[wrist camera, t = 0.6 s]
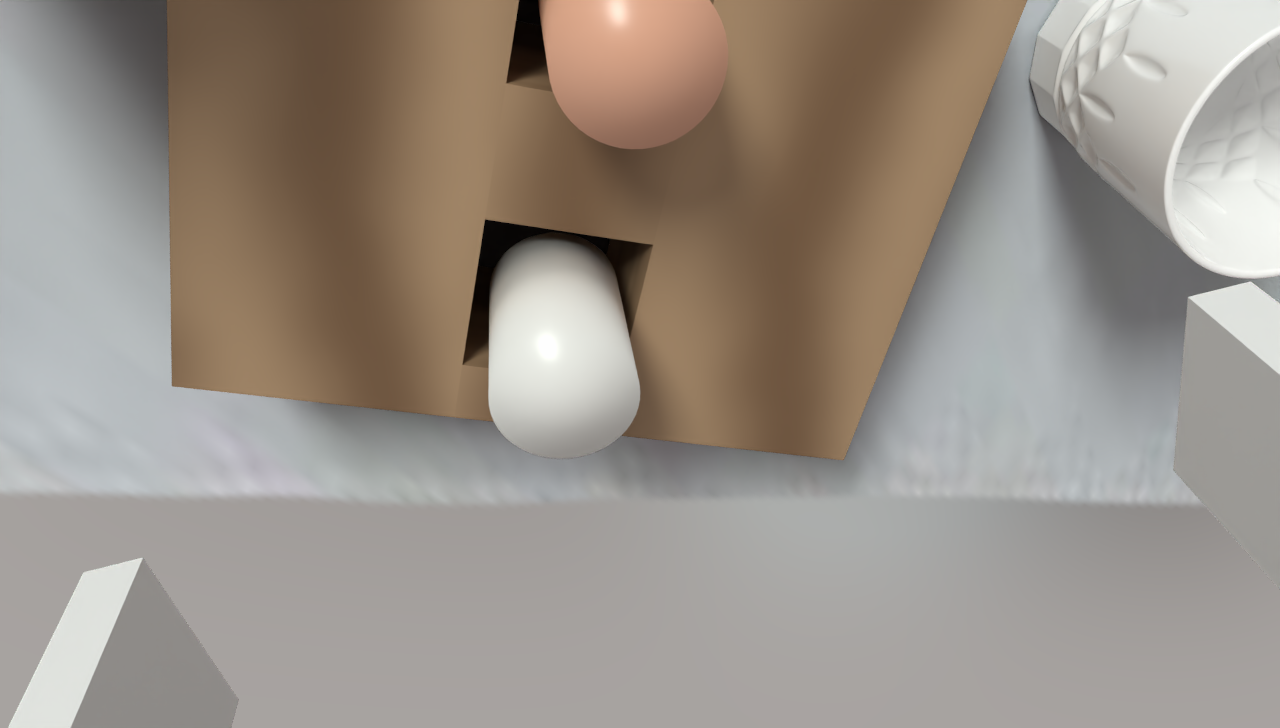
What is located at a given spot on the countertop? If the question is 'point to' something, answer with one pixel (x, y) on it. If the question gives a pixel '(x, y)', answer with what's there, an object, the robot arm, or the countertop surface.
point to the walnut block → (561, 203)
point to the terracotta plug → (634, 66)
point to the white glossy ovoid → (559, 348)
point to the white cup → (1175, 116)
